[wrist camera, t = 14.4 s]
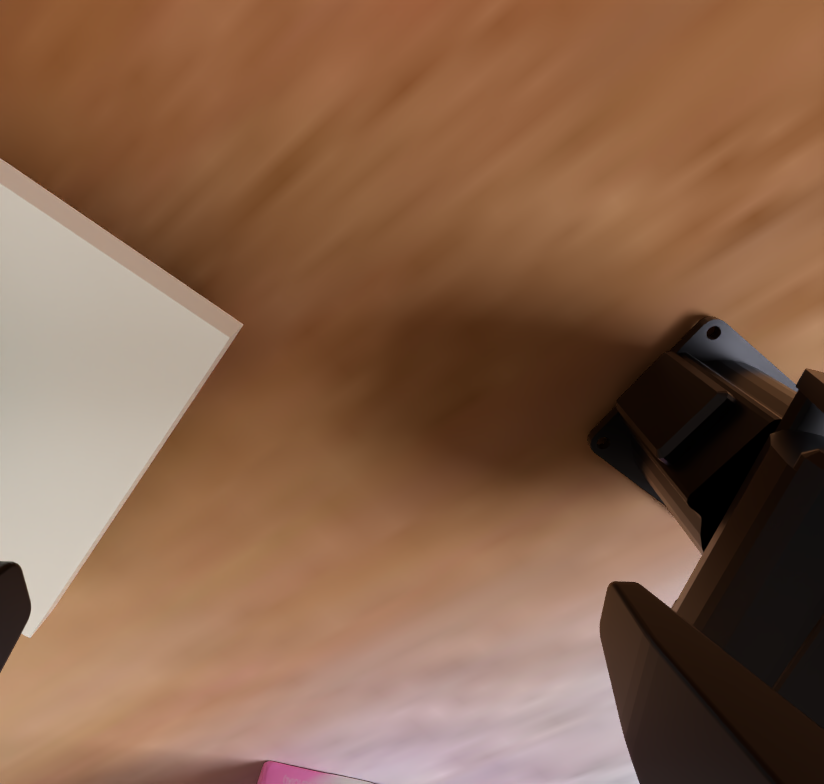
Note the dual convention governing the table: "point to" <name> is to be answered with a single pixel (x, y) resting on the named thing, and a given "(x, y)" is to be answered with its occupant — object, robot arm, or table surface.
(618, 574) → the table surface
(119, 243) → the white slab
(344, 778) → the gum box
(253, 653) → the table surface
